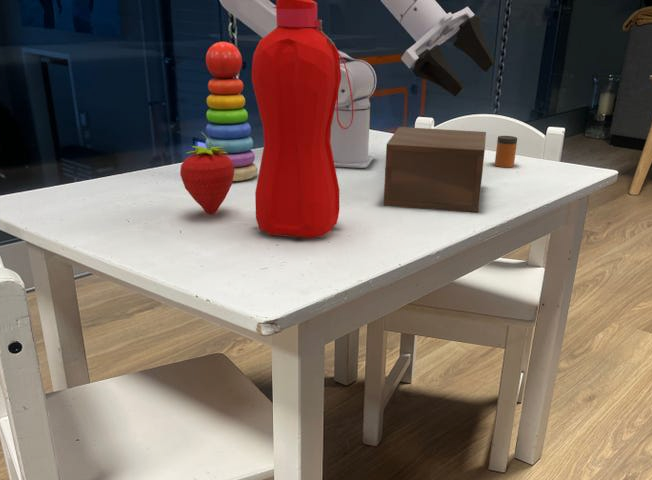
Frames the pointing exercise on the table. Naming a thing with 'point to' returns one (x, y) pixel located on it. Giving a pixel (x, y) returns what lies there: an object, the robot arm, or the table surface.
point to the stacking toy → (229, 110)
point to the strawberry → (208, 176)
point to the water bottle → (297, 123)
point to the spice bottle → (505, 151)
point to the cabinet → (434, 169)
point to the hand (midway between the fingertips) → (475, 79)
